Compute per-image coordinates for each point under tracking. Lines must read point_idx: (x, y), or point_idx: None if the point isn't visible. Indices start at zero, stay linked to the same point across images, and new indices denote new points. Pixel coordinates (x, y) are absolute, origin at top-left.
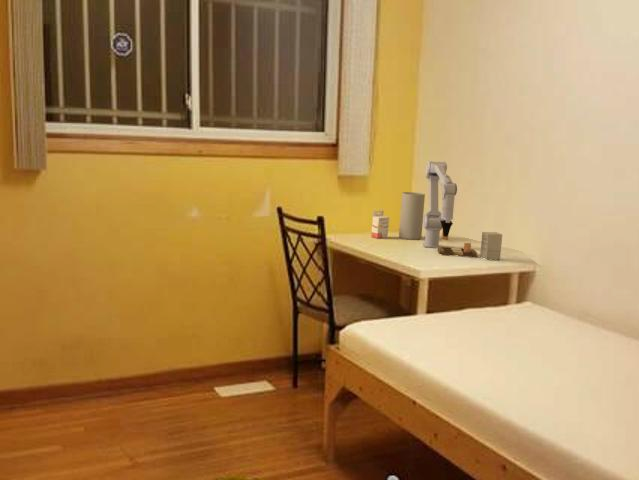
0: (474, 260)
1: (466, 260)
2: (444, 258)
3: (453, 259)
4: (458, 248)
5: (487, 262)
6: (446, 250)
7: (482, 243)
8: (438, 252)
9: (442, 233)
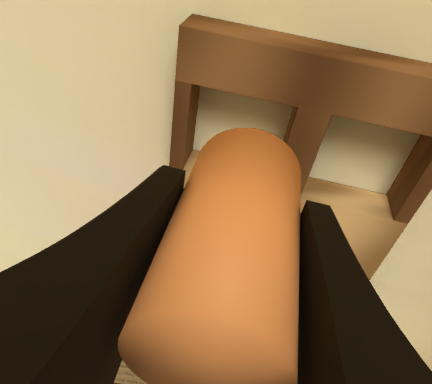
0: (55, 222)
1: (24, 174)
2: (5, 12)
3: (6, 89)
4: (360, 264)
5: None
6: (288, 135)
7: (134, 379)
8: (312, 40)
9: (205, 188)
